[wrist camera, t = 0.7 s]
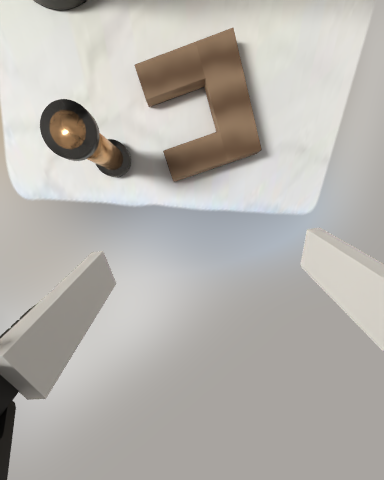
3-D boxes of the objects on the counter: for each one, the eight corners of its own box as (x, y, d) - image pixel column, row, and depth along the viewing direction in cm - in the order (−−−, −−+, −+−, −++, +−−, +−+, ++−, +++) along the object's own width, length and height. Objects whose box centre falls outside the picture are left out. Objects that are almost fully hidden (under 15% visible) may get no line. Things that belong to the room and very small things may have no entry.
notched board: (138, 74, 28) (134, 64, 26) (230, 40, 28) (233, 27, 26) (174, 181, 32) (172, 180, 30) (256, 153, 31) (261, 149, 29)
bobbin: (91, 148, 30) (30, 110, 19) (123, 136, 30) (80, 91, 18) (105, 181, 31) (55, 165, 20) (135, 170, 31) (103, 148, 19)
